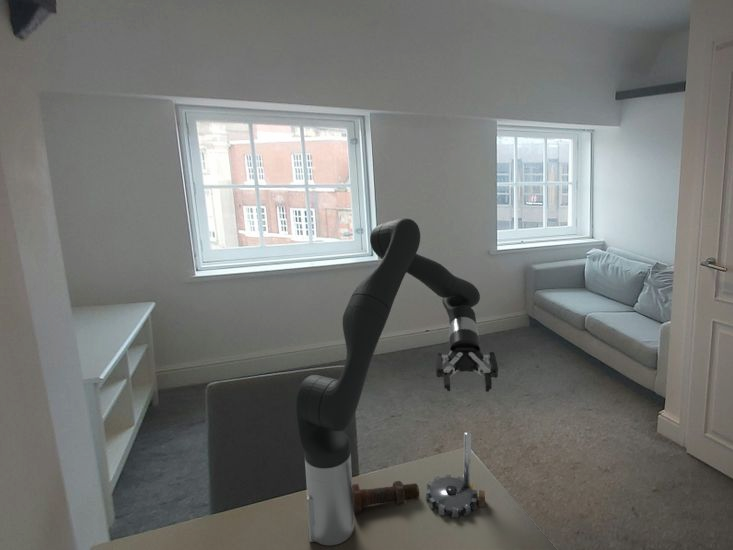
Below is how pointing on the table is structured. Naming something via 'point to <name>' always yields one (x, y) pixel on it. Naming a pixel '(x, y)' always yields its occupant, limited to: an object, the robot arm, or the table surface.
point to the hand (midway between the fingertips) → (468, 389)
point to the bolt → (383, 495)
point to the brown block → (482, 498)
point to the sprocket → (454, 488)
